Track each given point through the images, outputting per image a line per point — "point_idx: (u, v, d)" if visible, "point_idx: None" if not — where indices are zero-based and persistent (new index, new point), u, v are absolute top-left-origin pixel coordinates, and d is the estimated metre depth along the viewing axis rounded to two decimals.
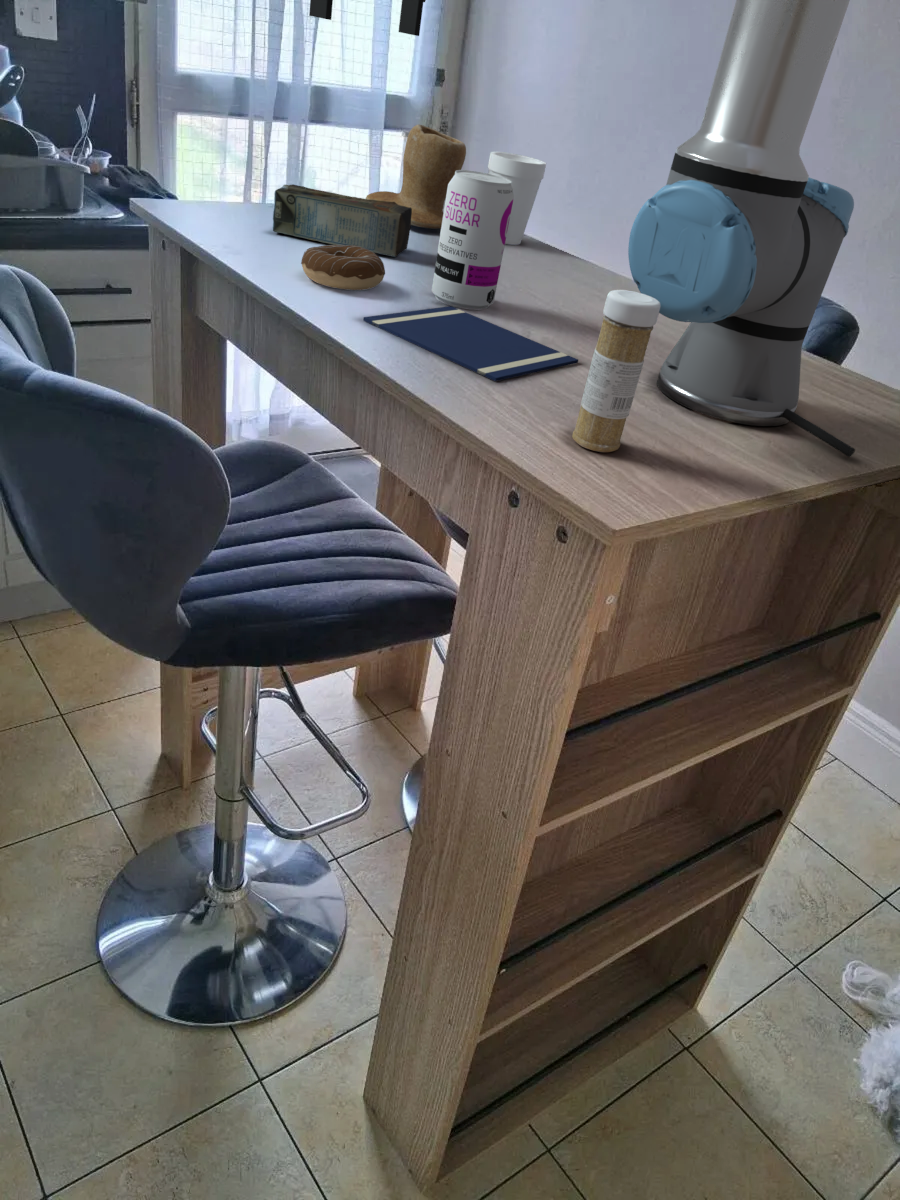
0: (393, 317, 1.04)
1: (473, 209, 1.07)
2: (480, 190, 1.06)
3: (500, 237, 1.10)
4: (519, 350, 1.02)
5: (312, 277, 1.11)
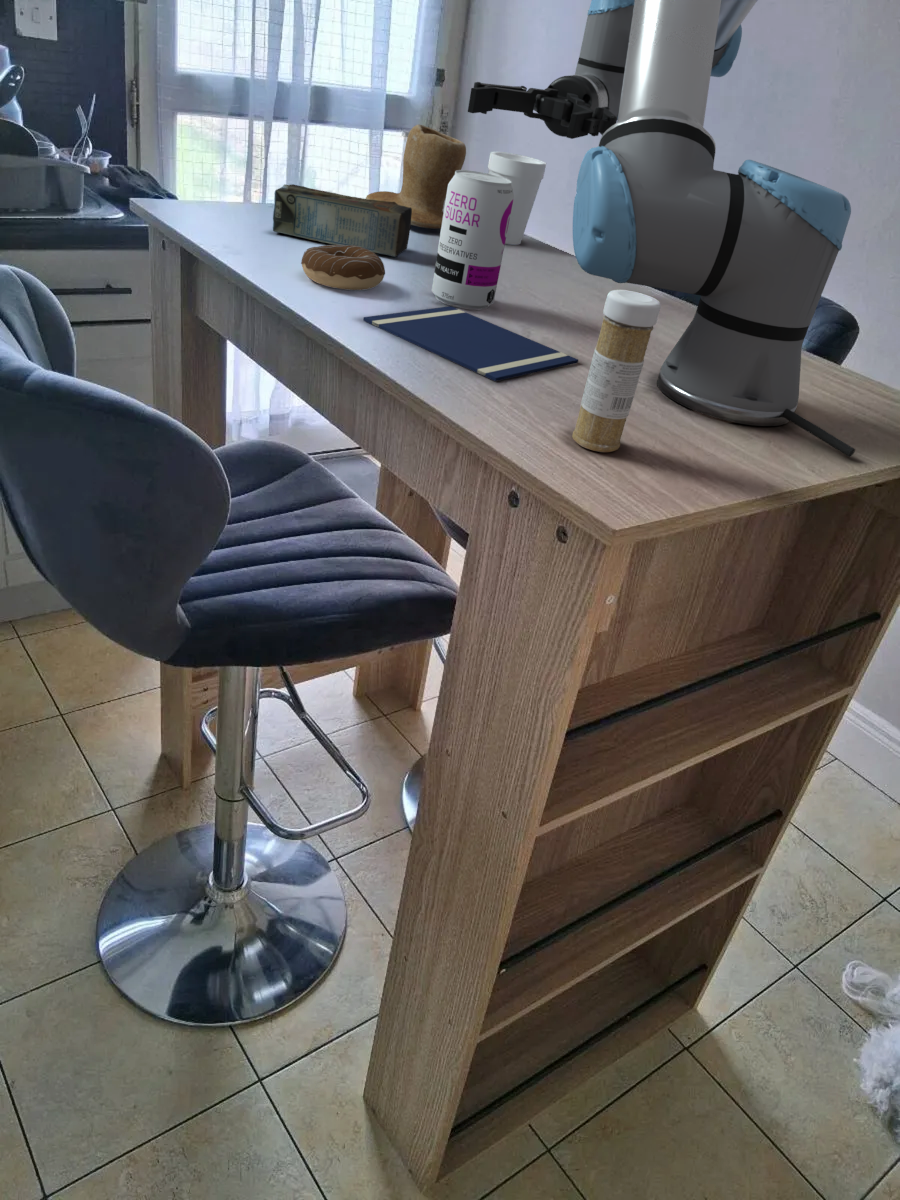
0: (393, 317, 1.04)
1: (473, 209, 1.07)
2: (480, 190, 1.06)
3: (500, 237, 1.10)
4: (519, 350, 1.02)
5: (312, 277, 1.11)
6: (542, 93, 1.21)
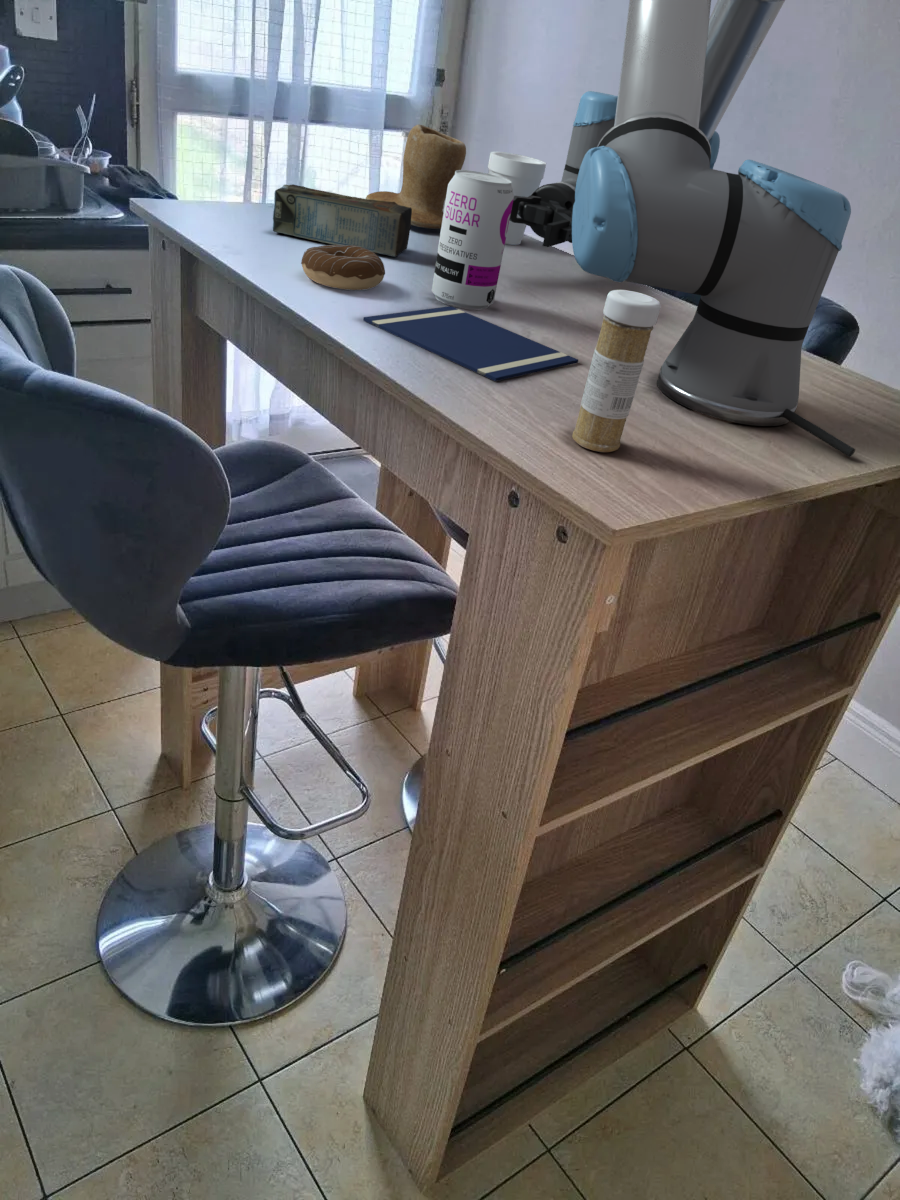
0: (393, 317, 1.04)
1: (473, 209, 1.07)
2: (480, 190, 1.06)
3: (500, 237, 1.10)
4: (519, 350, 1.02)
5: (312, 277, 1.11)
6: (525, 200, 1.28)
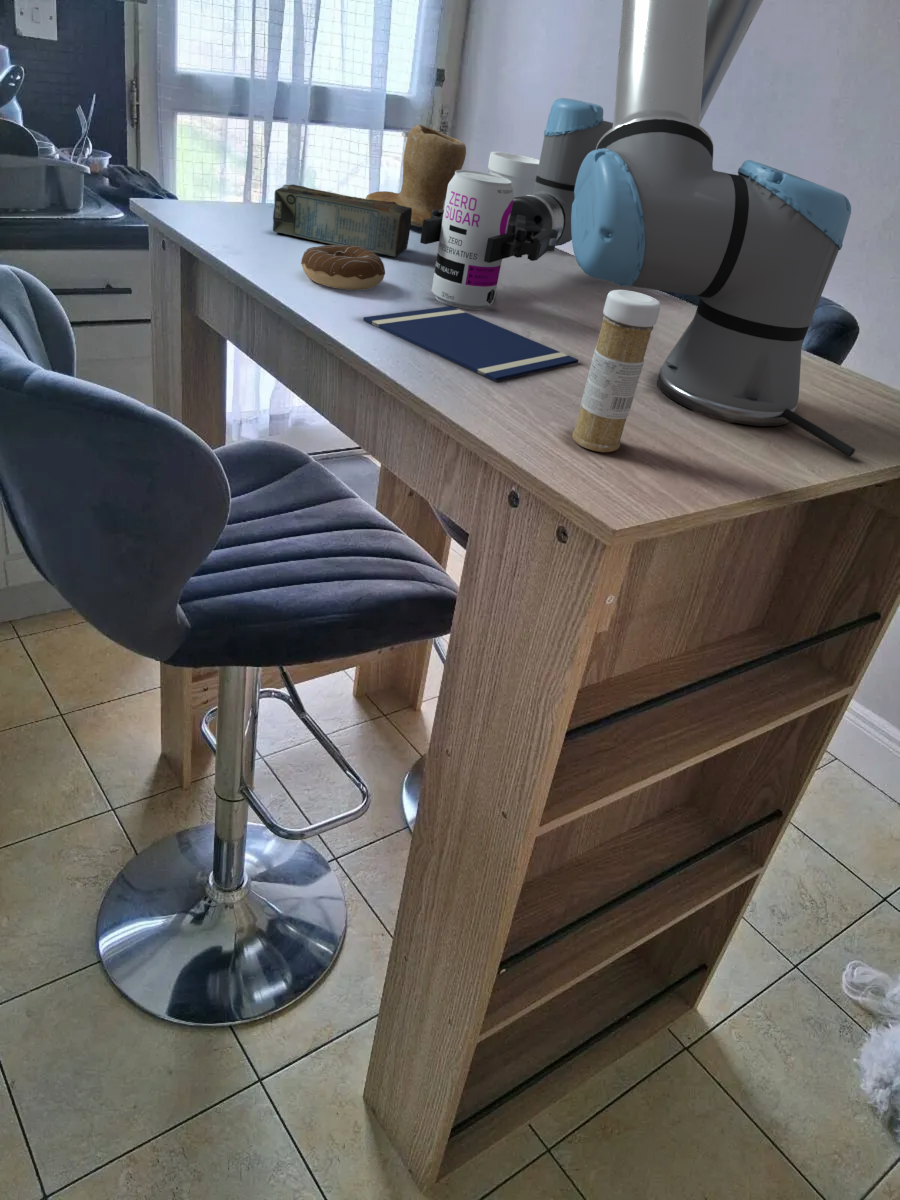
0: (393, 317, 1.04)
1: (473, 209, 1.07)
2: (480, 190, 1.06)
3: None
4: (519, 350, 1.02)
5: (312, 277, 1.11)
6: None
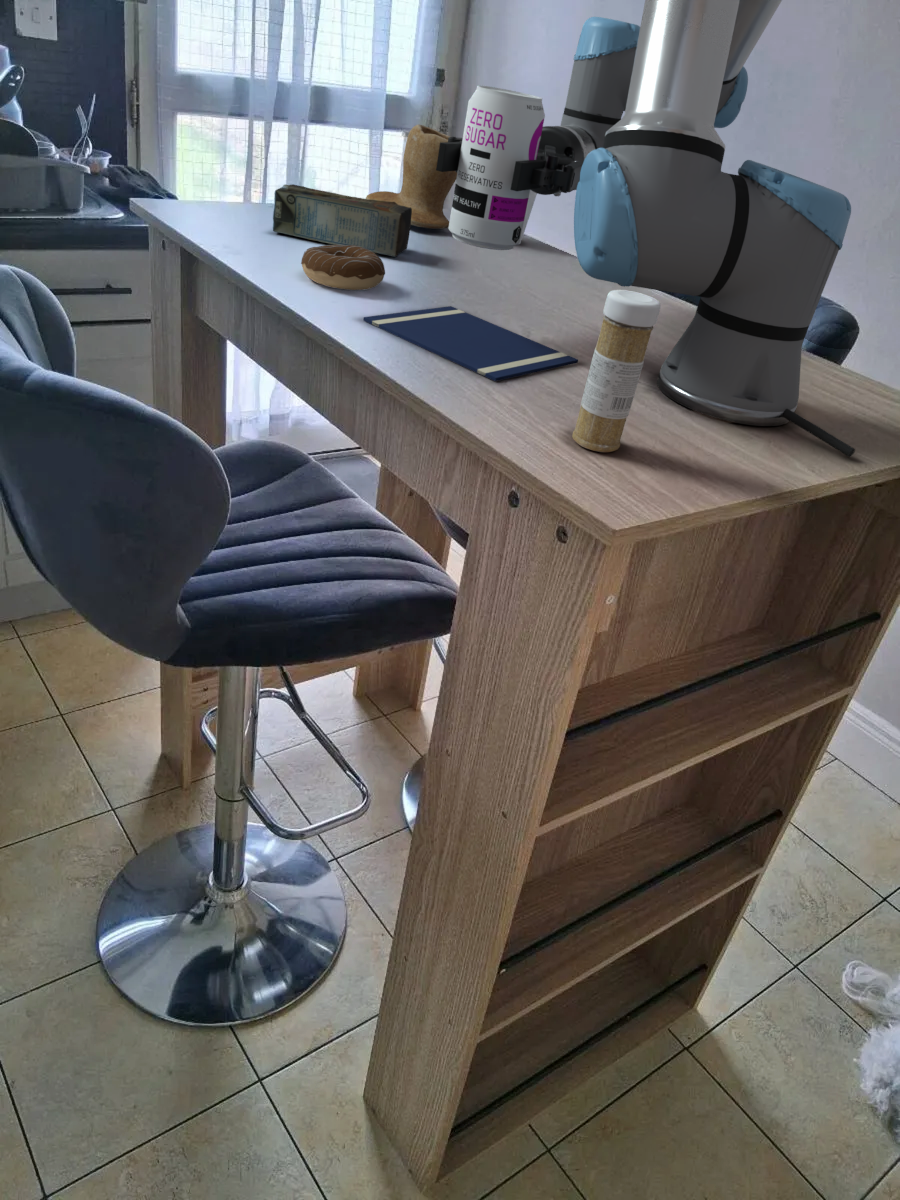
0: (393, 317, 1.04)
1: (498, 128, 0.92)
2: (507, 105, 0.91)
3: None
4: (519, 350, 1.02)
5: (312, 277, 1.11)
6: None
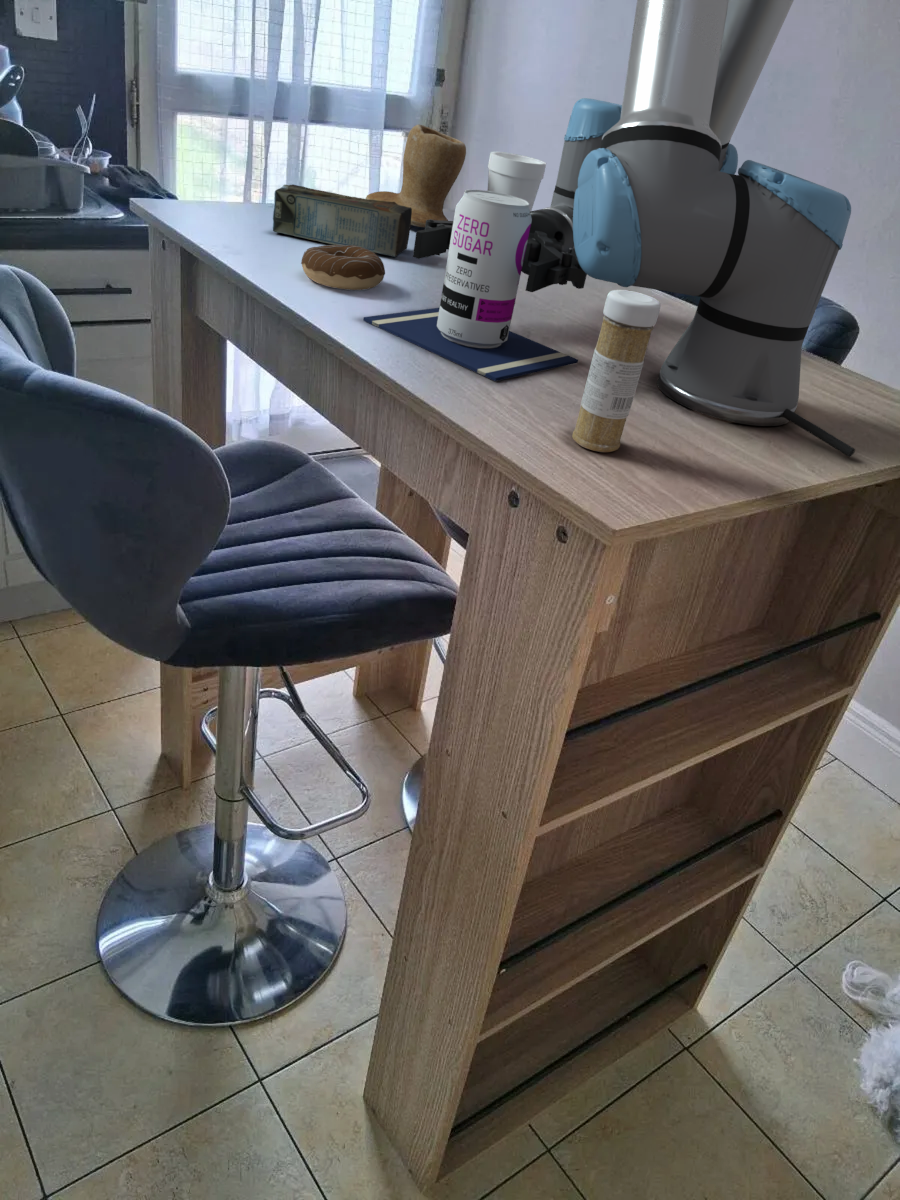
0: (393, 317, 1.04)
1: (484, 235, 0.93)
2: (493, 214, 0.92)
3: (516, 266, 0.96)
4: (519, 350, 1.02)
5: (312, 277, 1.11)
6: None
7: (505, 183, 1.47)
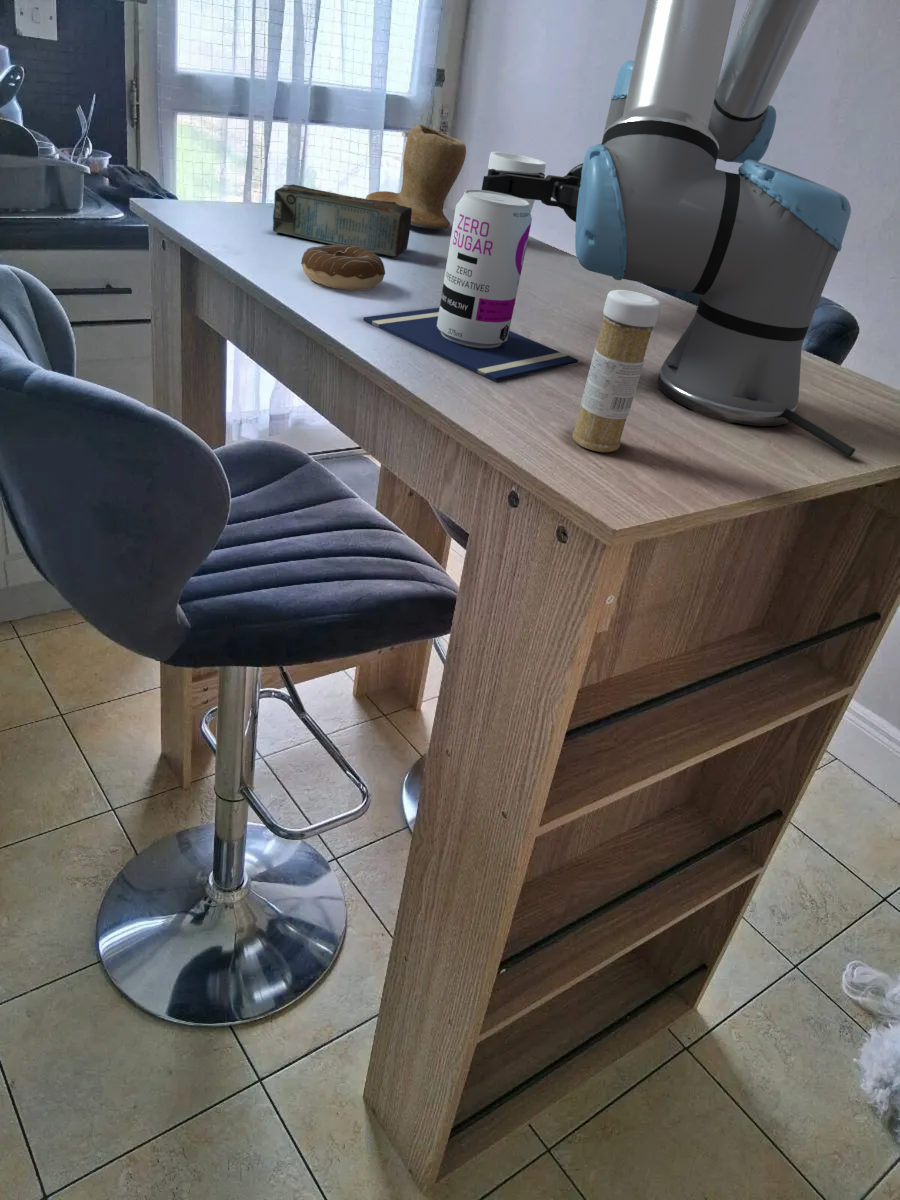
0: (393, 317, 1.04)
1: (484, 235, 0.93)
2: (493, 214, 0.92)
3: (516, 266, 0.96)
4: (519, 350, 1.02)
5: (312, 277, 1.11)
6: (561, 180, 1.14)
7: None
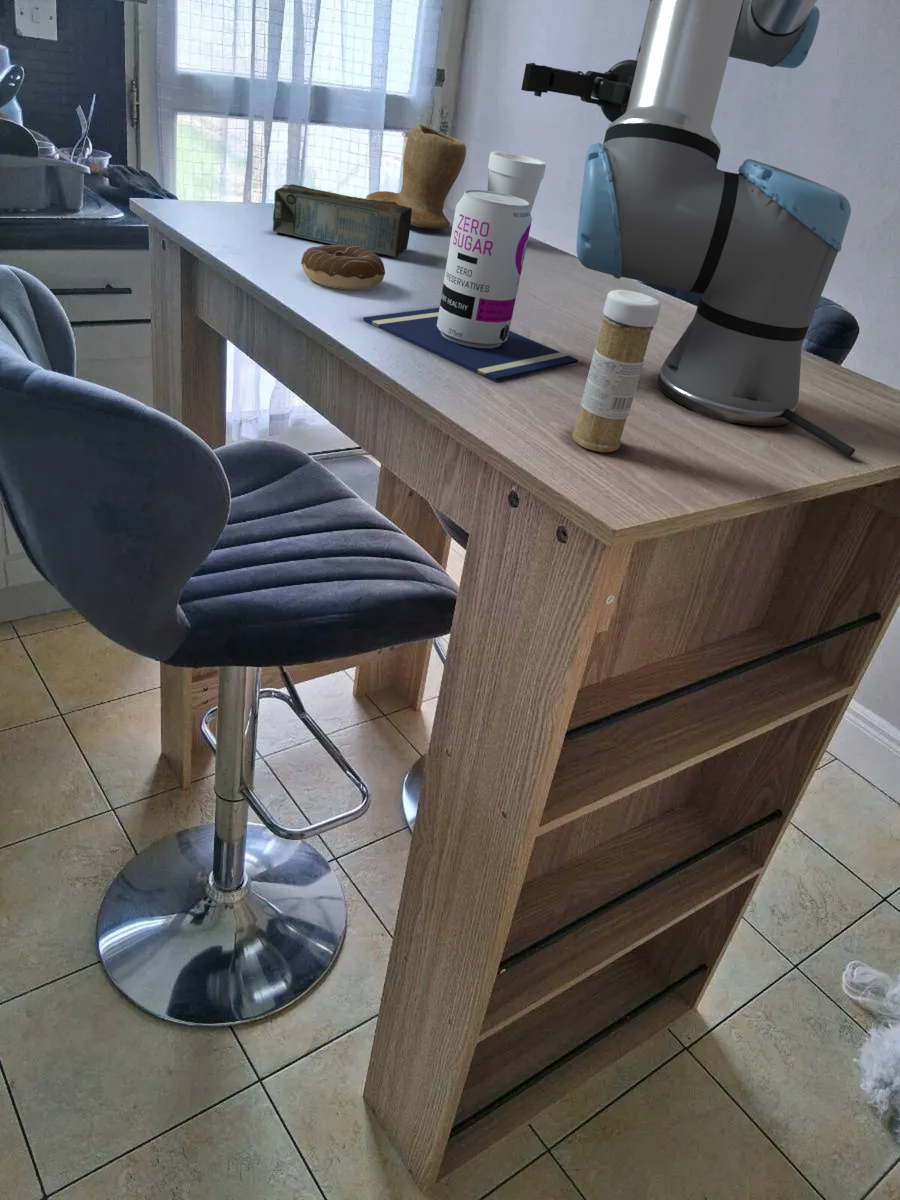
0: (393, 317, 1.04)
1: (484, 235, 0.93)
2: (493, 214, 0.92)
3: (516, 266, 0.96)
4: (519, 350, 1.02)
5: (312, 277, 1.11)
6: (601, 76, 1.12)
7: (505, 183, 1.47)
